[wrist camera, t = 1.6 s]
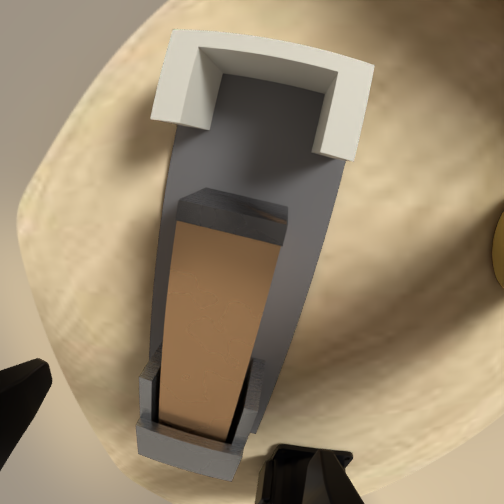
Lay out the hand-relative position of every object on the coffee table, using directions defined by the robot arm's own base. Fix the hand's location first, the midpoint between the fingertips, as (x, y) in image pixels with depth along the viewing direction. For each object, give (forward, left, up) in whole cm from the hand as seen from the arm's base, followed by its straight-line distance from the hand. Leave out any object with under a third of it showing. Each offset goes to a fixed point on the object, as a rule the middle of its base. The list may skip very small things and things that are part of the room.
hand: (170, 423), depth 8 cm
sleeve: (0, +7, -10) cm, 12 cm away
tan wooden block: (0, +2, -10) cm, 10 cm away
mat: (0, 0, -10) cm, 10 cm away
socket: (0, -10, -10) cm, 14 cm away
